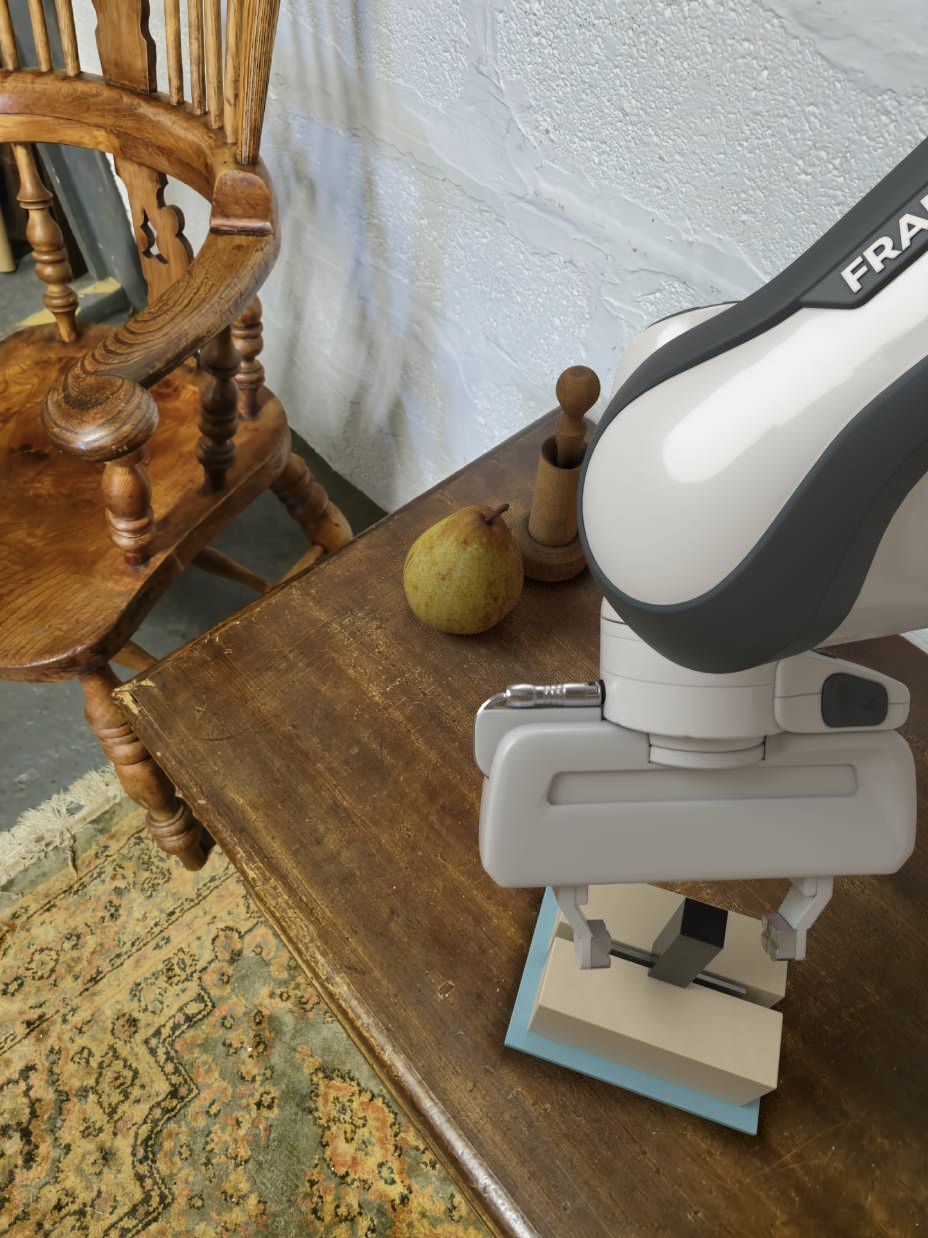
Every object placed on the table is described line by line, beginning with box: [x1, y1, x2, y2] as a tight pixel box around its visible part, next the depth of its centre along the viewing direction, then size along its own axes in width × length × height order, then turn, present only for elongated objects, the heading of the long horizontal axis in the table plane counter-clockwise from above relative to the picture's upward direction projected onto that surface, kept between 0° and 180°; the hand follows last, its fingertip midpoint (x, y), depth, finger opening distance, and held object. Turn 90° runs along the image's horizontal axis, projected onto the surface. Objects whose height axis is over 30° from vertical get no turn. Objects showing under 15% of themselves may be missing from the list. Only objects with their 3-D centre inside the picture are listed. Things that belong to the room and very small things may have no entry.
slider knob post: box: [609, 896, 746, 999], centre depth 44 cm, size 8×2×13 cm, turn 72°
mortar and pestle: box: [511, 364, 602, 583], centre depth 63 cm, size 7×6×18 cm
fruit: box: [402, 503, 525, 635], centre depth 62 cm, size 9×9×12 cm
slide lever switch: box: [503, 883, 789, 1137], centre depth 47 cm, size 14×10×7 cm
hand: (687, 959), depth 41 cm, fingers open, 8 cm apart
